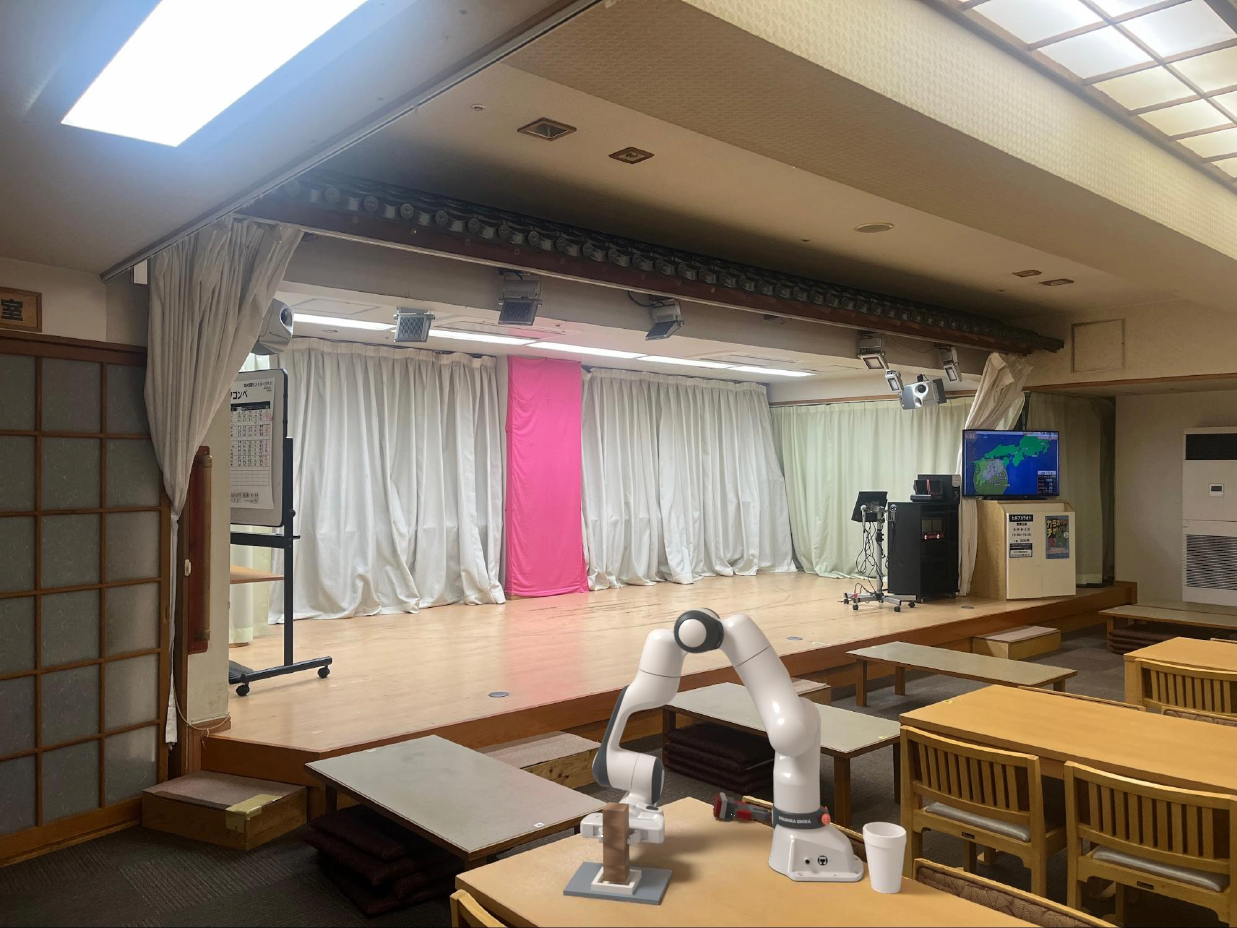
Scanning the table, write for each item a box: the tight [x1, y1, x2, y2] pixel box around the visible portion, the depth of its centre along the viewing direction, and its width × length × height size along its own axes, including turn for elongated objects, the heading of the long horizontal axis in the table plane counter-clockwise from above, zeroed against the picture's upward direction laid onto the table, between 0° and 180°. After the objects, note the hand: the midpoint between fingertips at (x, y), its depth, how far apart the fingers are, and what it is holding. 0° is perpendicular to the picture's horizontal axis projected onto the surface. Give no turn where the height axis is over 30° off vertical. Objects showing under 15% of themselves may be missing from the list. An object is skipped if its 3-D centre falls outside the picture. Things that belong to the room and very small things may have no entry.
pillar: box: [601, 801, 631, 883], centre depth 197 cm, size 5×5×16 cm
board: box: [562, 861, 673, 906], centre depth 199 cm, size 22×16×1 cm
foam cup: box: [862, 821, 907, 895], centre depth 196 cm, size 10×9×13 cm
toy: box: [712, 792, 771, 822], centre depth 240 cm, size 9×6×15 cm
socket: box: [591, 867, 641, 895], centre depth 197 cm, size 10×10×2 cm
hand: (615, 840), depth 197 cm, fingers closed on pillar, 5 cm apart
